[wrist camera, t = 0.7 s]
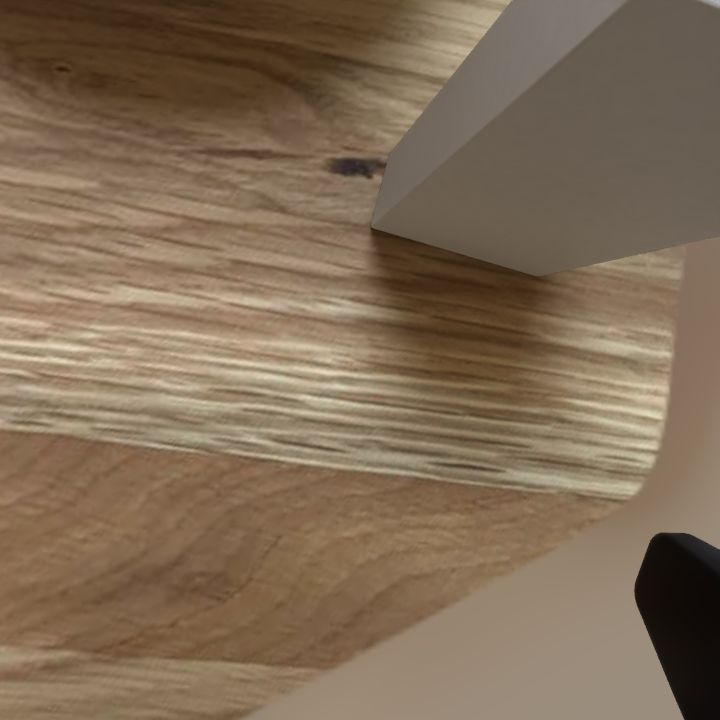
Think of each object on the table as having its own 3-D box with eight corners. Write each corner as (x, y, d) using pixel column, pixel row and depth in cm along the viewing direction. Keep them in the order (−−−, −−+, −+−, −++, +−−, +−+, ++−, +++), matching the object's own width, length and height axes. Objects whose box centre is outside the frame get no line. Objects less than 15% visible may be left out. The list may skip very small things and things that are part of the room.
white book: (538, 277, 23) (1093, 155, 8) (370, 227, 22) (651, -19, 7) (556, 206, 23) (1138, -46, 8) (389, 153, 22) (708, -249, 7)
